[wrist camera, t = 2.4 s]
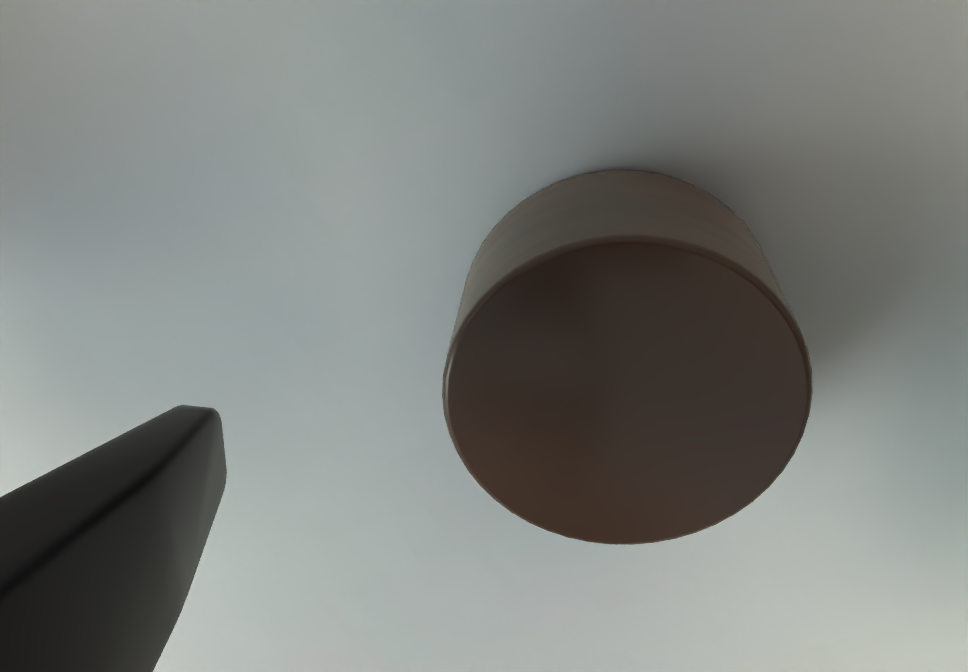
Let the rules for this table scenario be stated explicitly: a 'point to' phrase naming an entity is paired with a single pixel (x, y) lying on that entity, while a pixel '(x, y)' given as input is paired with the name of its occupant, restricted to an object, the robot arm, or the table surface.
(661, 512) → the cylinder
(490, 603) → the table surface
